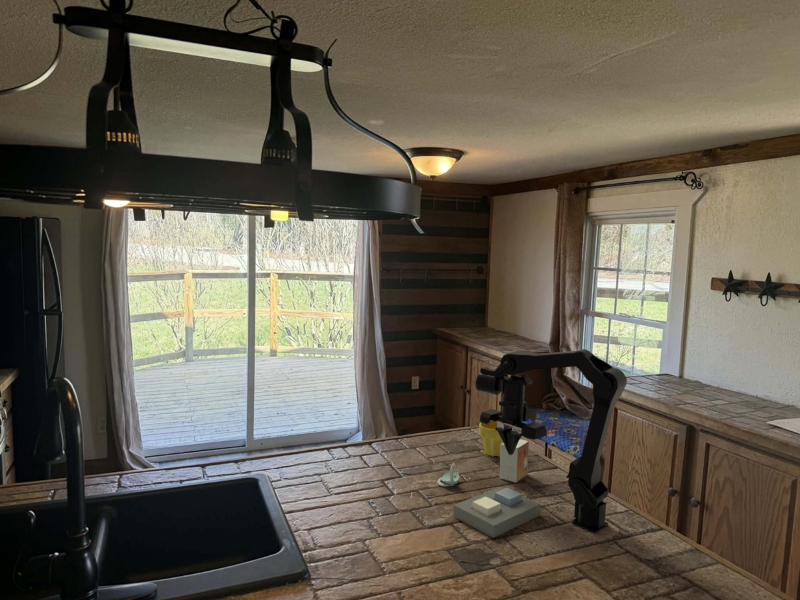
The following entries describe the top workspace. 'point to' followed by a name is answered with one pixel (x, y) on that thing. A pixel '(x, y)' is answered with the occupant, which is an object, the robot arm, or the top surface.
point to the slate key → (508, 497)
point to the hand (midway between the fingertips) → (510, 454)
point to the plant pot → (490, 438)
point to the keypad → (496, 514)
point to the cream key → (486, 506)
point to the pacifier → (449, 477)
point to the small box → (514, 462)
